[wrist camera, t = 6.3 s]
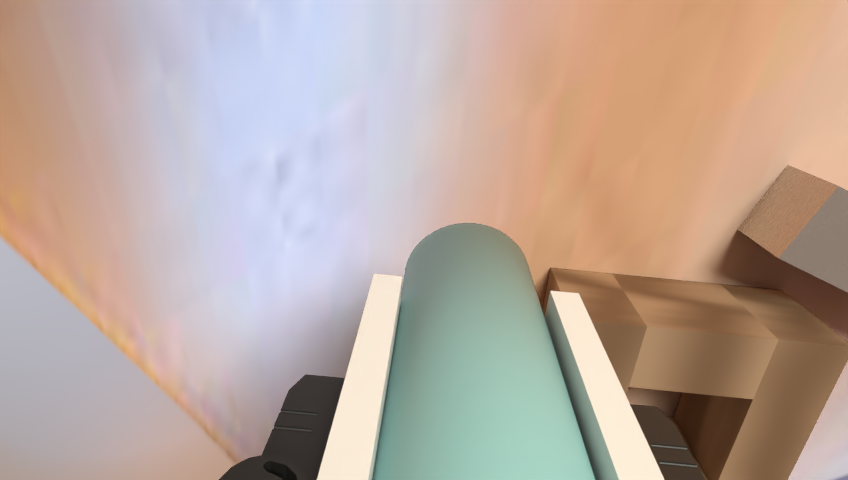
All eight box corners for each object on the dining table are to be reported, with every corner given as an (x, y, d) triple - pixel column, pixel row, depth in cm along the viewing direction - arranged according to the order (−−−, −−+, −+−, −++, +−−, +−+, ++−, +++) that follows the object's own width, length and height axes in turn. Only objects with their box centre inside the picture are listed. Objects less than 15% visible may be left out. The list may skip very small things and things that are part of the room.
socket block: (514, 443, 31) (525, 517, 26) (550, 267, 26) (572, 319, 22) (711, 463, 31) (757, 540, 26) (783, 290, 26) (854, 347, 22)
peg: (400, 326, 17) (263, 1244, 4) (409, 217, 15) (229, 1181, 3) (518, 338, 17) (724, 1290, 4) (539, 229, 15) (969, 1255, 3)
